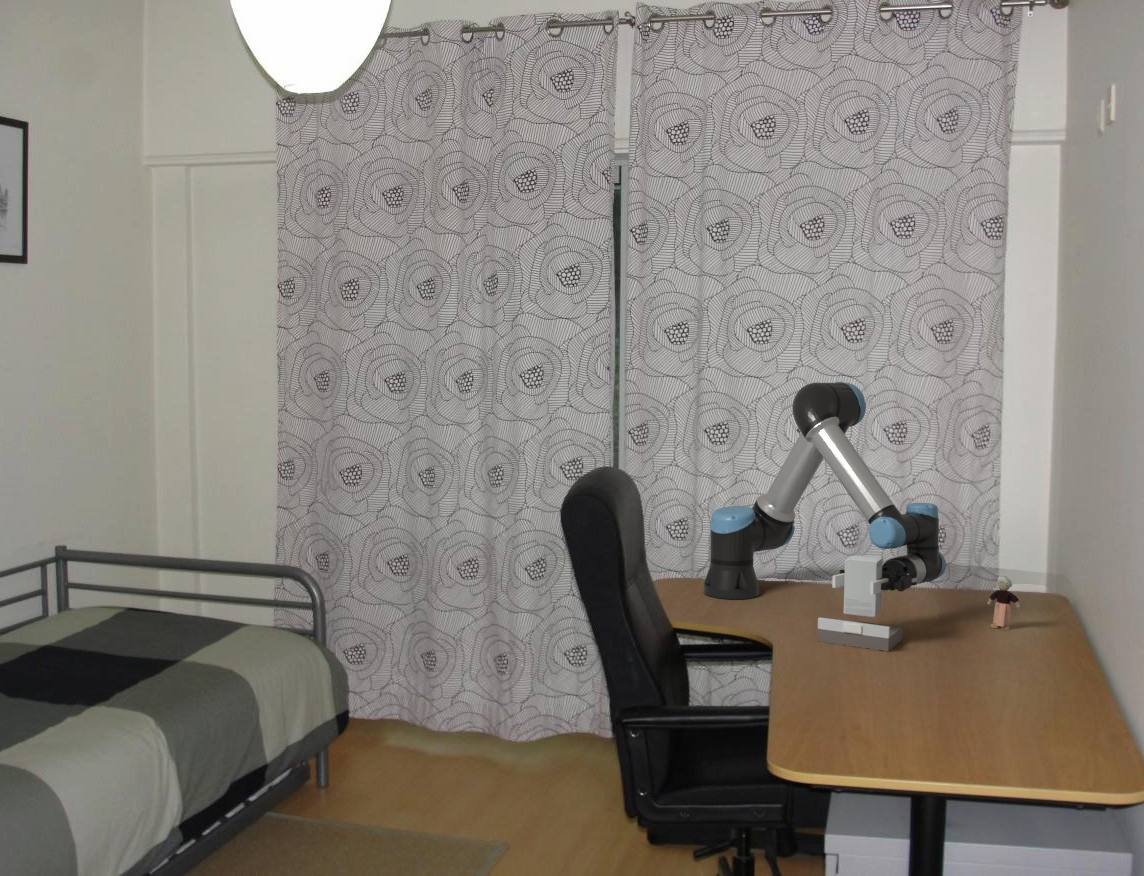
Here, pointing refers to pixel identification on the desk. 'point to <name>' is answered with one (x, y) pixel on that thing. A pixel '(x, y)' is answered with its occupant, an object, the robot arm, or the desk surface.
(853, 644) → the shelf board
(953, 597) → the desk surface
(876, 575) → the supplement box
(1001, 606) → the grandmother figurine
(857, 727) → the desk surface
